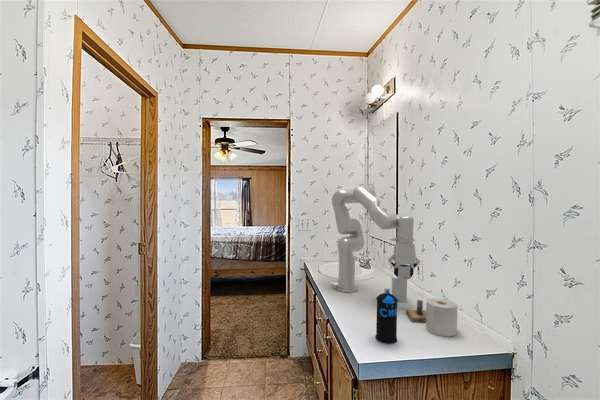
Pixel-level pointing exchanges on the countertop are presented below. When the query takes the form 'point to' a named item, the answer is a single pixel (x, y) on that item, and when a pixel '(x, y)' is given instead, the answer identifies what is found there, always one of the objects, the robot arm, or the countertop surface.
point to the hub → (404, 271)
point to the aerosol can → (386, 317)
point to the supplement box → (399, 288)
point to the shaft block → (417, 313)
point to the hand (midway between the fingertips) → (403, 275)
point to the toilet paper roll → (441, 317)
